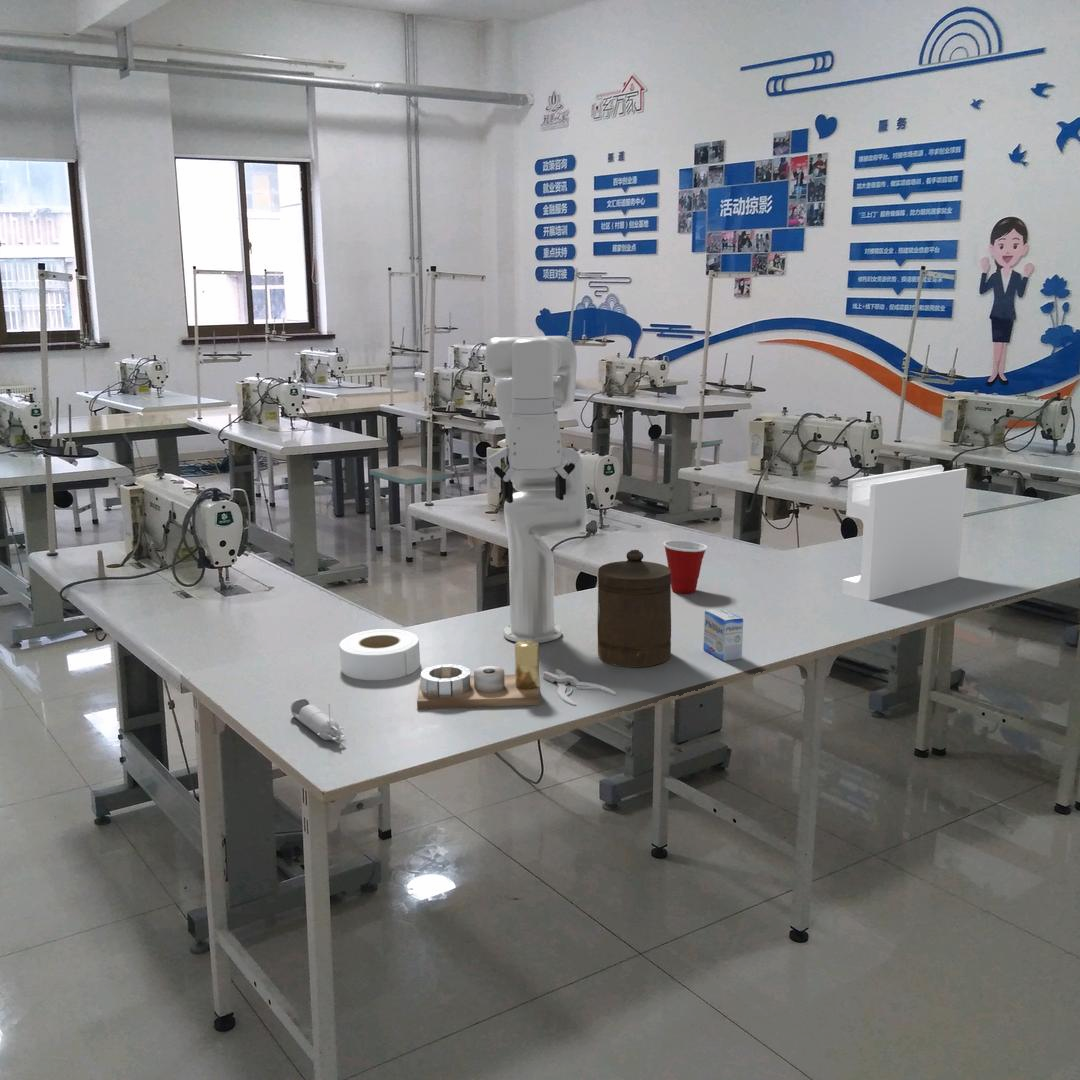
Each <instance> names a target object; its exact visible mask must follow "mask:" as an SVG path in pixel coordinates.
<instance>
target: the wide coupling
mask: <svg viewBox="0 0 1080 1080" xmlns="http://www.w3.org/2000/svg"><path fill="white" fill-rule="evenodd" d="M470 676H471V669H470V668H468V667H466V666H464V665H460V664H455V663H442V664H437V665H433V666H428V667H426V668H424V669H422V670H421V672H420V679H421V691H422V692H423V693H425V694H426V695H429V696H434V697H451V696H452V697H454V696H458V695H462V694H465V693H466V692H468V691H469V690H470V689H471V681H470Z"/></svg>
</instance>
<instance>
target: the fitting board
mask: <svg viewBox="0 0 1080 1080" xmlns="http://www.w3.org/2000/svg"><path fill="white" fill-rule="evenodd" d="M470 681H471V689H470V690H469V691H468V692H466V693H465V694H462V695H458V696H454V697H452V696H451V697H434V696H429V695H426V694H425V693H423V692H422V691H421V678H420V679H419V685H418V692H417V698H416V706H417V710H422V709H423V710H428V709H431V710H432V709H452V708H453V709H455V708H457V709H458V708H459V709H460V708H488V707H489V708H490V707H517V706H520V707H522V706H540V705H541V696H540V689H539V687H538V688H536V689H531V690H522V689H518V688H517V687H516V686H515V674H505V669H504V668H502V667H499V666H494V665H486V666H484V665H483V666H480V667H477V668H475V669H474V670H473V675H470Z"/></svg>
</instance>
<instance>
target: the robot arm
mask: <svg viewBox="0 0 1080 1080" xmlns="http://www.w3.org/2000/svg"><path fill="white" fill-rule="evenodd" d="M574 344H575V343H574V342H573V341H572V340H571V338H569V337H567V336H565V335H529V334H528V335H527V334H526V335H515V336H509V337H507V336H505V337H492V338H490V339H488V341H487V344H486V346H485V353H484V362H485V368H486V370H487V373H488V375H489V377H491V378H492V379H493V378H494V379H498V380H497V382H496V384H495V390H494V392H495V393H494V396H495V403H496V408H497V412H498V413H497V414H498V416H499V420H500V422H501V424H502V427H503V428H504V431H505V437H504V439H505V440H504V447H503V448H501V449H500V450H498V451H495V453H493V454H492V455H489V456H488V457H487V459H486V460H487V462H488V464H489V466H490V468H491V470H492V471H493V473H495V475H497V476H498V477H499V479H501V482H502V484H501V485H502V497H503V499H505V501H504V504H503V517H504V523H505V528H506V535H507V546H508V571H509V572H508V573H509V574H508V575H509V577H508V578H509V579H508V581H509V582H508V583H509V618H510V619H509V624H508V625H507V626H505V627H504V628H503V632H502V633H503V637H504V638H506V639H507V640H509V641H512V642H515V643H517V642H519V641H535V642H537V643H538V644H542V643H548V642H552V641H554V640H557V639H559V638H560V637H561V636H562V627H561V626H559V625H558V624H555V579H554V578H555V577H554V576H555V573H554V572H555V570H554V569H555V567H554V566H555V565H554V563H555V562H554V553H553V551H552V550H551V547H549V545H548V544H547V543H546V542H545V540H543V539H542V537H547V536H572V535H573V536H575V535H579V534H581V533H582V532H584V530H585V529H586V526H587V522H588V506H587V505H588V504H587V495H586V485H585V482H586V481H585V471H584V464H583V459H582V457H581V455H580V453H579V452H578V451H576V450H575V449H572V448H568V447H567V446H564V445H562V436H561V435H562V434H561V429H560V422H559V418H558V414H556V413H555V412H557V411H558V412H560V411H562V412H563V411H567V410H569V409H570V408H571V407H572V406H573V404H574V402H575V399H576V381H577V380H576V379H577V367H578V365H577V363H578V362H577V360H578V359H577V351H576V347H575V345H574ZM503 458H504V463H505V466H506V467H505V469H504V470H503V469H502V468H501V467H500V466H499V463H498V461H499V460H501V459H503ZM514 489H515V491H516V492H514V491H513V490H514Z"/></svg>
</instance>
